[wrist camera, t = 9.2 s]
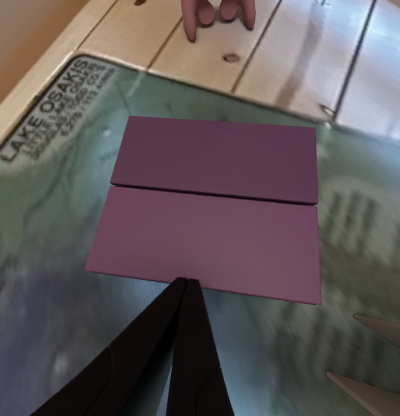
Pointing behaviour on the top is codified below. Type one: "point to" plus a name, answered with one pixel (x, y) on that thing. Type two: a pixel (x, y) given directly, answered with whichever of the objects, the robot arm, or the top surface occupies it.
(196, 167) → the file box
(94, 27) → the top surface
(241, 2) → the video game controller
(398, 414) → the brochure
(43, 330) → the top surface
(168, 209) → the flap
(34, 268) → the top surface
